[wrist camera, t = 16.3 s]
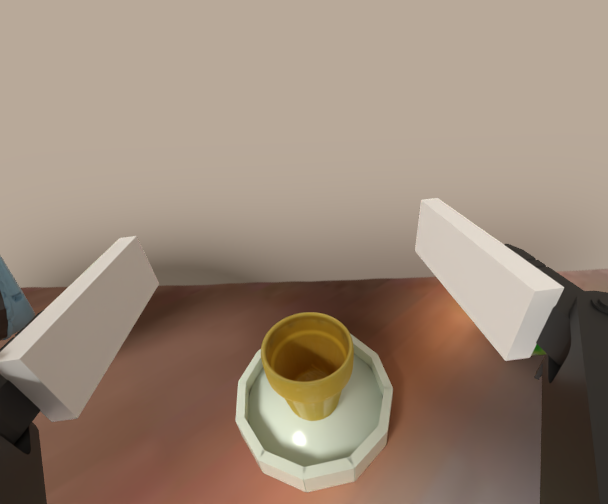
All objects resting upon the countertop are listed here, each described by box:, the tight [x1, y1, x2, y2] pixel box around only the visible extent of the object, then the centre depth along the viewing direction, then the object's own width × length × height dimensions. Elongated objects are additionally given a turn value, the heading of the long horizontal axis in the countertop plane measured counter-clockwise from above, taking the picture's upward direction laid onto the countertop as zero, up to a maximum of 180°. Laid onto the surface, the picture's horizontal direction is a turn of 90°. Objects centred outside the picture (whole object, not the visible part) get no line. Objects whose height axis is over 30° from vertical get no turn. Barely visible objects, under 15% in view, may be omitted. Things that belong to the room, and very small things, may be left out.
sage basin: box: [236, 334, 393, 492], centre depth 36 cm, size 19×19×3 cm
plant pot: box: [261, 312, 354, 421], centre depth 33 cm, size 10×10×10 cm
